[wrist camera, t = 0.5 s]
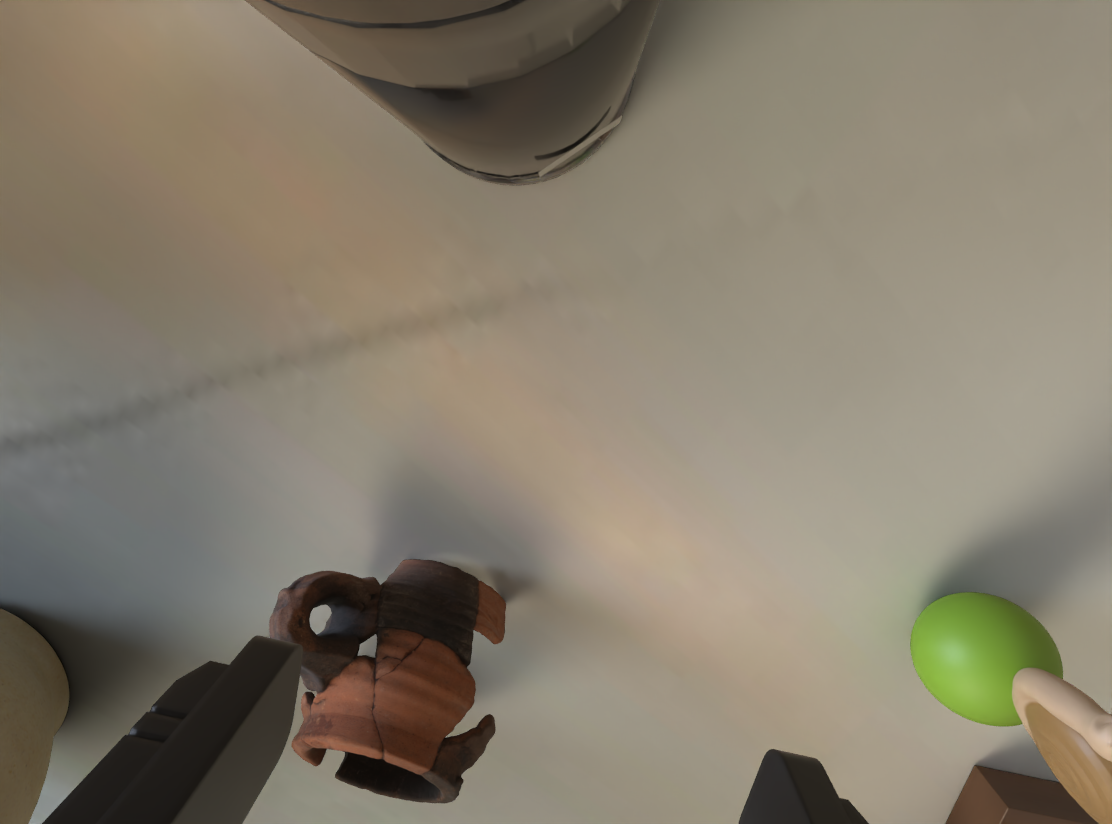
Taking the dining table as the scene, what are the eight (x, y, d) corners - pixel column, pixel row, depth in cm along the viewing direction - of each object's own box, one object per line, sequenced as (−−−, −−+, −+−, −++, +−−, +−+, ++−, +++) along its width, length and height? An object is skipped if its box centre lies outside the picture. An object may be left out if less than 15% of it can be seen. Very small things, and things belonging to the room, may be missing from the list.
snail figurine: (975, 534, 28) (1266, 734, 16) (1017, 641, 29) (1311, 897, 18) (864, 581, 29) (1065, 805, 17) (909, 684, 30) (1124, 956, 18)
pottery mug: (562, 624, 30) (522, 814, 24) (445, 653, 35) (390, 813, 30) (373, 486, 25) (266, 683, 19) (271, 544, 31) (163, 712, 25)
